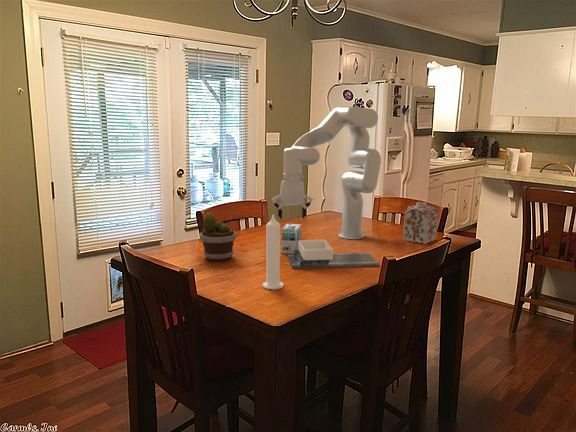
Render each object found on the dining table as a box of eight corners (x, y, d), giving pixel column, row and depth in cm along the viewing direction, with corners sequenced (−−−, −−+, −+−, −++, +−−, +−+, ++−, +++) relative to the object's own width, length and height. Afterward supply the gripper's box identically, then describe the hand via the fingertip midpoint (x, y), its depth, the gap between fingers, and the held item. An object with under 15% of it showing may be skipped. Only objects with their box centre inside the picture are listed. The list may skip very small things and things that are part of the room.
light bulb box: (297, 254, 202) (297, 229, 199) (281, 253, 203) (281, 228, 201) (301, 248, 212) (301, 224, 210) (286, 247, 213) (286, 223, 211)
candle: (283, 282, 168) (283, 212, 163) (283, 289, 161) (284, 216, 156) (262, 282, 167) (262, 212, 162) (262, 289, 161) (262, 216, 155)
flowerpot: (231, 251, 205) (230, 205, 201) (240, 261, 191) (240, 212, 187) (197, 254, 200) (195, 207, 196) (204, 265, 186) (203, 214, 182)
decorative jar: (413, 236, 235) (415, 199, 231) (436, 240, 227) (439, 202, 224) (402, 240, 226) (404, 202, 222) (425, 245, 218) (428, 206, 215)
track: (287, 256, 198) (287, 249, 198) (367, 254, 202) (368, 247, 202) (292, 268, 183) (292, 261, 182) (379, 266, 187) (379, 258, 186)
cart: (298, 253, 198) (298, 240, 197) (324, 252, 199) (325, 239, 198) (303, 264, 183) (303, 250, 182) (332, 263, 185) (333, 249, 184)
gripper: (311, 176, 206) (310, 215, 209) (270, 176, 203) (270, 216, 207) (314, 178, 198) (313, 219, 202) (272, 179, 196) (272, 220, 200)
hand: (291, 218), depth 204 cm, fingers open, 9 cm apart
